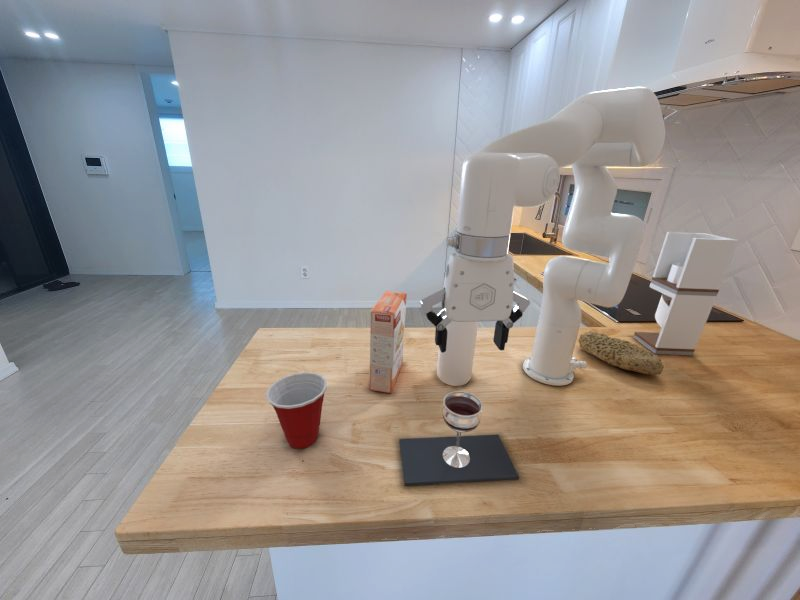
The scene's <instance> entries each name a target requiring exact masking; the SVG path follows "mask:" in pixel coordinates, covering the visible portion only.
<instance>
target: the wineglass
mask: <svg viewBox="0 0 800 600" xmlns="http://www.w3.org/2000/svg"><path fill="white" fill-rule="evenodd" d="M442 406H443V407H442V409H441V415H442V416H441V417H442V419H443V421H444V423H445V424H446V426H447V427H449V428H450V429H451V430H453V431H455V432H456V436H457V441H456V446H450V447H448V448H446V449H445V450H444V451H443V458H444V460H445V462H446V463H447V464H449V465H451V466H453V467H457V468H461V467H465V466H466V465H468V463H469V461H470V457H469V454H468V452H467V451H466V450H464V449H463V448H461V447H459V443H460V437H461V436H462V433H468V432H472V431H474V430H475V429H477V427H478V426H479V424H480V423H481V421H482V415H483V414H482V410H483V403H482V401H481V400H480V398H479V397H477V396H476V395H475V394H472V393H470V392H467V391H461V390H459V391H458V390H456V391H451V392H449V393H447V394H446V395H445V396H444V397H443V405H442Z"/></svg>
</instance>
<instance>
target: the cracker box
mask: <svg viewBox="0 0 800 600" xmlns="http://www.w3.org/2000/svg"><path fill="white" fill-rule="evenodd" d="M406 310H407V293H406V292H403V291H402V292H401V291H390V290H385V291H384V293H383V294H382V295H381V296H380V298H379V299H378V301H377V302H376V303H375V305H374V306H373V308H372V309H371V310H370V331H369V333H370V335H369V336H370V337H369V338H370V339H369V387H368V388H369V390H370V391H375V392H381V393H385V394H386V393H387V394H392V393H393V390H394V387H395V385H396V382H397V379H398V376H399V374H400V372H401V368H402V366H403V361H404V345H405V326H406V325H405V324H406V312H407V311H406Z"/></svg>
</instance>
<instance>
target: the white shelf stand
mask: <svg viewBox="0 0 800 600" xmlns="http://www.w3.org/2000/svg"><path fill="white" fill-rule="evenodd" d="M739 241H740V240H739V239H736V238H735V239H734V238H731V237H725V236H721V235H716V234H712V233H705V232H684V231H683V232H682V231H681V232H680V231H667V232H666V233H665V237H664V240H663V243H662V246H661V249H660V253H659V256H658V259H657V262H656V265H655V267H654V271H653V274H652V277H651V280H650V284H649V288H650V289H652V290H653V291H657V292H659V293H661V297H660V298H659V302H658V305H657V308H656V310H655V313H654V319H655V321H656V322H655V323H657V325H658V326H659V327H660V331H659V332H649V331H648V332H647V331H634V333H633V336H632V339H634V340H636V341H637V342H639V343H640V344H641V345H643V346H644V348H646V349H648V351H650V352H651V353H653V354H654V355H672V356H673V355H677V356H694V354H695V351H696V349H697V347H698V344H699V341H700V339H701V337H702V333H703V332H704V329H705V326H706V324H707V322H708V320H709V317H710V314H711V312H712V309H713V307H714V304H715V302H716V299H717V296H718V294H719V292H720V290H721V287H722V285H723V281H724V280H725V277H726V275H727V272H728V269H729V268H730V264H731V263H732V260H733V258H734V255H735V253H736V250H737V247H738V244H739Z"/></svg>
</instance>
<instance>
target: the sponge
mask: <svg viewBox="0 0 800 600" xmlns="http://www.w3.org/2000/svg"><path fill="white" fill-rule="evenodd" d="M578 344H579V347H580V348H581V349H582V350H583V351H585V352H587V353H589V354H590V355H593V356H594V357H596V358H597V359H599V360H601V361H603V362H605V363H607V364H609V365H611V366H614V367H616V368H617V367H618V368H619V369H623V370H625V371H631V372H635V373H639V374H643V375H654V376H655V375H656V376H657V375H658V376H659V375H662V373H663V371H664V368H665V365H663V360H662V359H661V358H660V357H659V356H658V355H657V354H655V353H653V352H652V351H650V350H647V349H645V348H643V347H642V346H639V345H638V344H636V343H633V342H630V341H628V340H624V339H620V338H614V337H611V336H608V335H607V334H605V333H599V332H595V331H591V330H590V331H585V333H583V334H580V335H579V338H578Z"/></svg>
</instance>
